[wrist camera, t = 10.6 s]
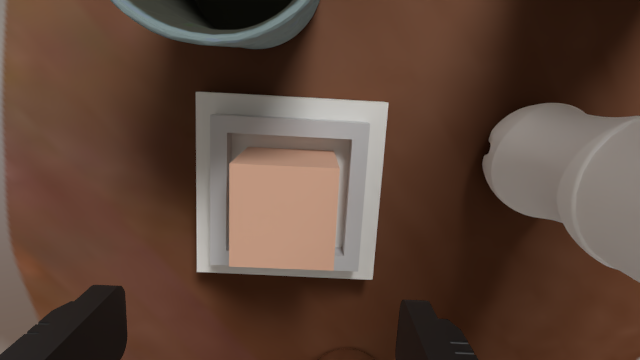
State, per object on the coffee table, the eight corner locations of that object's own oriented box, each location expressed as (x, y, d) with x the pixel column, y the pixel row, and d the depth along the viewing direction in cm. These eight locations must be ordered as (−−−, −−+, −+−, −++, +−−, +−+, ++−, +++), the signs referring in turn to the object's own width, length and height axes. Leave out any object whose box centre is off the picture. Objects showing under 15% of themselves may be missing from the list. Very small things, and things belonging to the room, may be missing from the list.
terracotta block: (334, 150, 27) (339, 168, 21) (329, 232, 28) (333, 270, 22) (247, 146, 27) (229, 163, 21) (246, 228, 28) (229, 266, 22)
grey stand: (383, 101, 28) (392, 103, 25) (368, 267, 31) (375, 290, 27) (203, 91, 28) (188, 92, 24) (204, 259, 30) (190, 281, 27)
